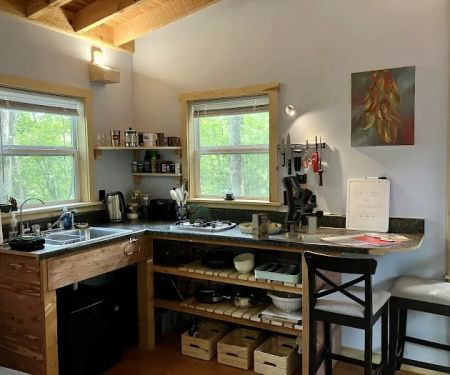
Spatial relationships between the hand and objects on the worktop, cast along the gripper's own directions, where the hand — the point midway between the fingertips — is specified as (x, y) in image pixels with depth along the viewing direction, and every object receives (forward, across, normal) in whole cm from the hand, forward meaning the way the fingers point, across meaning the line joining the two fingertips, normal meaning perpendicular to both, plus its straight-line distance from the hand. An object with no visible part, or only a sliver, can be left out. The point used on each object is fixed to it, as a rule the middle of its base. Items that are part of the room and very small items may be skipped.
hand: (312, 225), depth 260 cm
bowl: (-22, -22, +36) cm, 47 cm away
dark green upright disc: (-50, -59, +65) cm, 101 cm away
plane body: (+1, -10, +12) cm, 16 cm away
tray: (+6, 0, +7) cm, 9 cm away
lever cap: (+2, 0, +4) cm, 5 cm away
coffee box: (-3, -29, +16) cm, 34 cm away
